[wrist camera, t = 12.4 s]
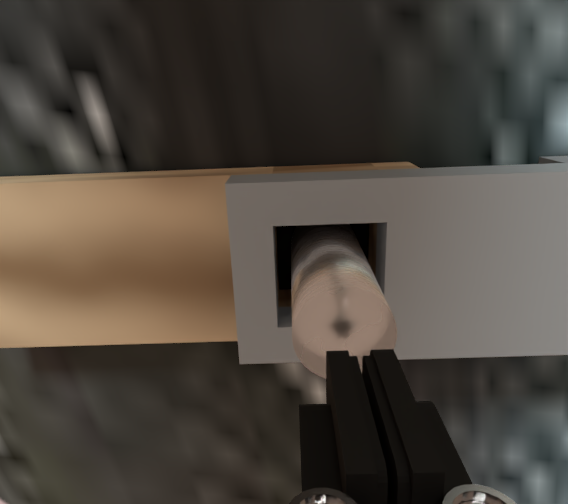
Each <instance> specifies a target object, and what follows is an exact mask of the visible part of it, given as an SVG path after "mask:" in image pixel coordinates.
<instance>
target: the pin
mask: <svg viewBox="0 0 568 504" xmlns="http://www.w3.org/2000/svg"><path fill="white" fill-rule="evenodd" d="M291 298H292V342H293V347H294V350H295V353H296V355H297V357H298V358H299V360H300V361H301V363H302V364H303V365H304V366H305V367H306V368H307V369H308V370H310V371H311V372H313V373H314V374H316V375H318V376H320V377H323V378H326V351H342V350H348V352H349V356H357V358H358V362H359V366H360V369H361V373H362V358H363V356H369V355H370V351H371V350H378V349H393V350H394V348H395V345H396V341H397V325H396V321H395V318H394V316H393V314H392V312H391V309H390V307H389V305H388V303H387V301H386V299H385V297H384V295H383V293H382V290H381V288H380V286H379V284H378V282H377V280H376V278H375V276H374V274H373V271H372V269H371V267H370V265H369V263H368V261H367V259H366V257H365V255H364V252H363V250H362V248H361V246H360V244H359V242H358V240H357V238H356V236H355V233H354V231H353V229H352V227H351V226H350V225H349V224H326V225H297V227H296V228H295V230H294V232H293V234H292V238H291Z"/></svg>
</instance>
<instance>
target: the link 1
mask: <svg viewBox="0 0 568 504" xmlns="http://www.w3.org/2000/svg"><path fill="white" fill-rule="evenodd" d="M413 168H419V167H417V166H415V165H414V164H412V163H410V162H385V163H358V164H331V165H304V166H277V167H250V168H224V169H197V170H170V171H143V172H116V173H89V174H62V175H35V176H8V177H0V348H18V347H52V346H86V345H120V344H153V343H187V342H221V341H238V339H237V326H236V314H235V302H234V290H233V277H232V265H231V253H230V240H229V228H228V216H227V204H226V191H225V183H226V182H227V180H228V179H229V177H230V176H231V175H250V174H277V173H304V172H331V171H358V170H385V169H413ZM376 243H377V223H369V245H368V263H369V265H370V267H371V269H372V271H373V274H374V276H375V275H376ZM275 244H276V265H277V287H278V307H292V298H291V289H283V290H279V274H278V252H277V230H276V226H275Z"/></svg>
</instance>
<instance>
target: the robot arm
mask: <svg viewBox="0 0 568 504" xmlns="http://www.w3.org/2000/svg"><path fill="white" fill-rule="evenodd" d="M326 399H327V404H305V405H299V416H300V447H301V476H302V493H300V494H299V495H297V496H296V497H294V498H293V500H292V501H291V502H290V503H289V504H516V503H515V502H514V501H513V500H512V499H510V498H509V497H507V496H506V495H504V494H503V493H501V492H499V491H497V490H494V489H492V488H490V487H486V486H482V485H477V484H472V482H471V480H470V478H469V476H468V474H467V472H466V469H465V467H464V465H463V463H462V461H461V459H460V457H459V455H458V453H457V451H456V449H455V447H454V444H453V442H452V440H451V438H450V436H449V434H448V432H447V430H446V428H445V426H444V424H443V422H442V419H441V417H440V415H439V413H438V411H437V409H436V407H435V405H434V404H433V403H432V402H431V401H420V402H416V401H415V399H414V397H413V394H412V392H411V389H410V387H409V385H408V382H407V380H406V378H405V375H404V373H403V371H402V368H401V366H400V363H399V361H398V359H397V356H396V354H395V352H394V350H393V349H378V350H371V351H370V355H369V356H363V358H362V373H361V369H360V366H359V362H358V358H357V356H349V352H348V350H342V351H326Z"/></svg>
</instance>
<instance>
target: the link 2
mask: <svg viewBox="0 0 568 504" xmlns="http://www.w3.org/2000/svg"><path fill="white" fill-rule="evenodd" d="M225 191H226V204H227V216H228V228H229V240H230V253H231V265H232V277H233V290H234V302H235V314H236V326H237V339H238V351H239V363H240V364H263V363H298V362H301V361H300V360H299V358H298V357H297V355H296V353H295V350H294V347H293V342H292V307H278V287H277V265H276V244H275V226H297V225H326V224H355V223H377V243H376V275H375V278H376V280H377V282H378V284H379V286H380V288H381V290H382V293H383V295H384V297H385V299H386V301H387V303H388V305H389V307H390V309H391V312H392V314H393V316H394V318H395V321H396V325H397V341H396V345H395V348H394V352H395V354H396V356H397V359H398V360H404V359H439V358H474V357H509V356H544V355H568V156H547V157H539V162H538V164H521V165H494V166H467V167H440V168H413V169H385V170H358V171H331V172H304V173H277V174H250V175H231V176H230V177H229V179H228V180H227V182H226V183H225Z"/></svg>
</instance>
